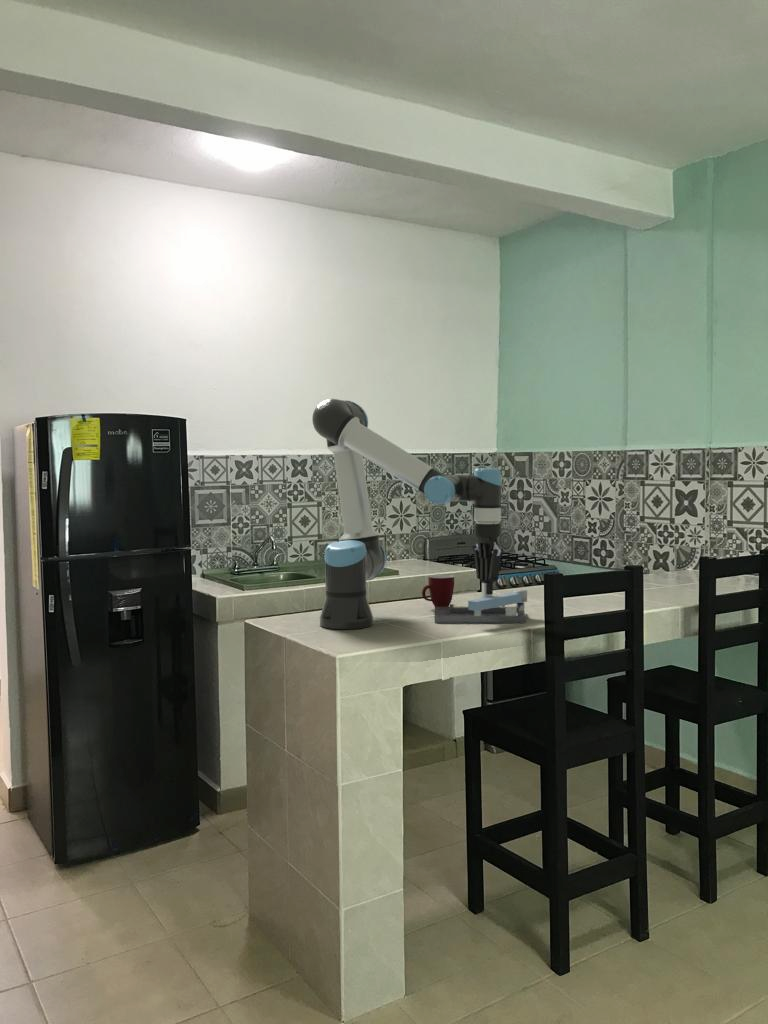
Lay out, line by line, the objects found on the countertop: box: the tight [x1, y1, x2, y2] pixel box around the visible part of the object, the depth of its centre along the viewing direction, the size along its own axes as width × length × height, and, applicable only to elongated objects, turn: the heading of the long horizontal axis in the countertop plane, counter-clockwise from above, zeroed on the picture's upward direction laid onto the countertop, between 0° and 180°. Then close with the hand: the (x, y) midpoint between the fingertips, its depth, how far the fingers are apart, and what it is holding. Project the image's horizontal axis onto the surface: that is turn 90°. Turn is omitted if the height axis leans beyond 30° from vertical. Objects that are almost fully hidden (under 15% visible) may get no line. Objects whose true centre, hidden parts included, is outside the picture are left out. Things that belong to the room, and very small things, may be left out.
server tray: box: [434, 602, 527, 624], centre depth 246 cm, size 26×15×4 cm, turn 86°
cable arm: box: [467, 589, 528, 611], centre depth 239 cm, size 23×4×3 cm, turn 133°
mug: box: [421, 574, 455, 608], centre depth 263 cm, size 10×8×10 cm
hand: (487, 605), depth 239 cm, fingers closed
